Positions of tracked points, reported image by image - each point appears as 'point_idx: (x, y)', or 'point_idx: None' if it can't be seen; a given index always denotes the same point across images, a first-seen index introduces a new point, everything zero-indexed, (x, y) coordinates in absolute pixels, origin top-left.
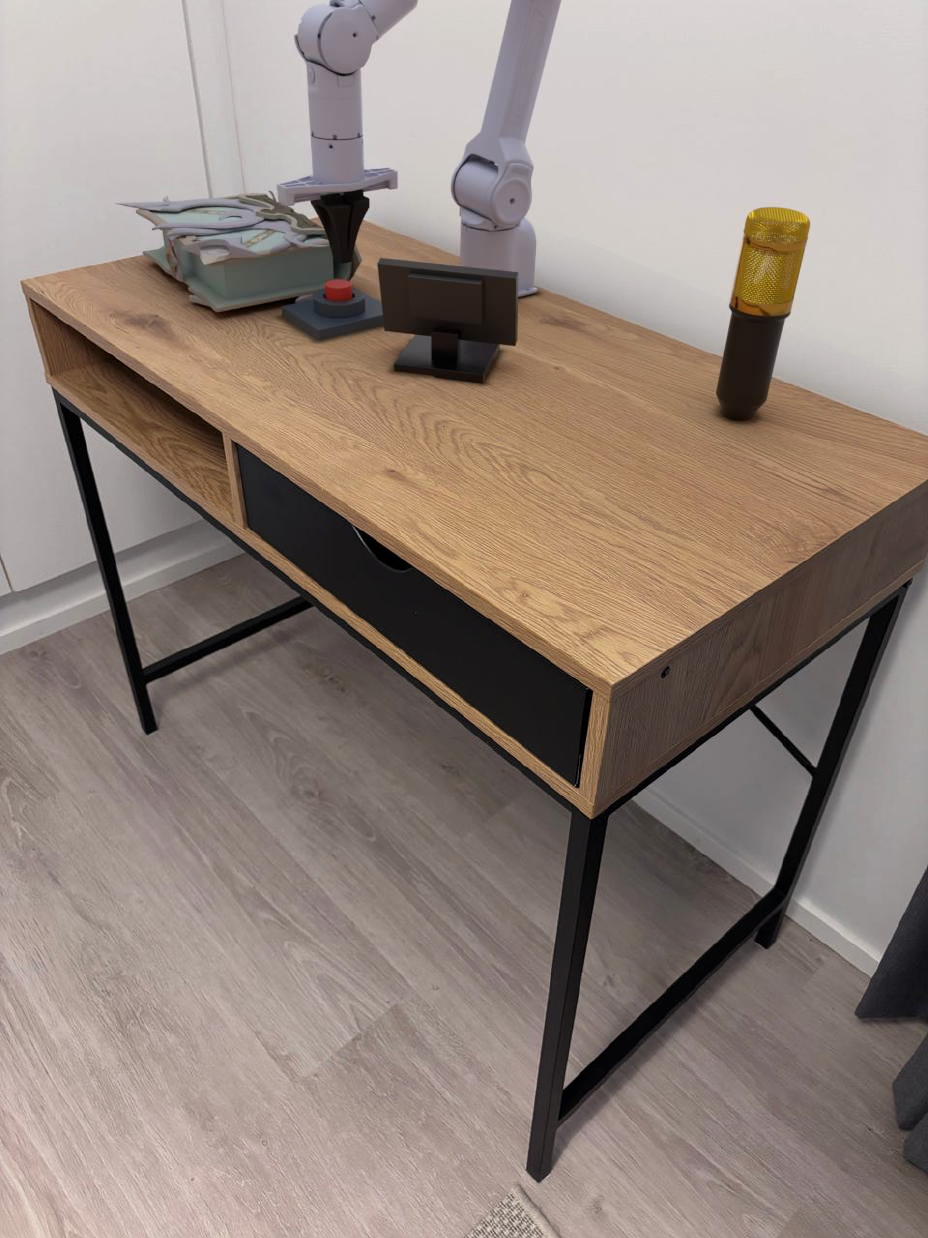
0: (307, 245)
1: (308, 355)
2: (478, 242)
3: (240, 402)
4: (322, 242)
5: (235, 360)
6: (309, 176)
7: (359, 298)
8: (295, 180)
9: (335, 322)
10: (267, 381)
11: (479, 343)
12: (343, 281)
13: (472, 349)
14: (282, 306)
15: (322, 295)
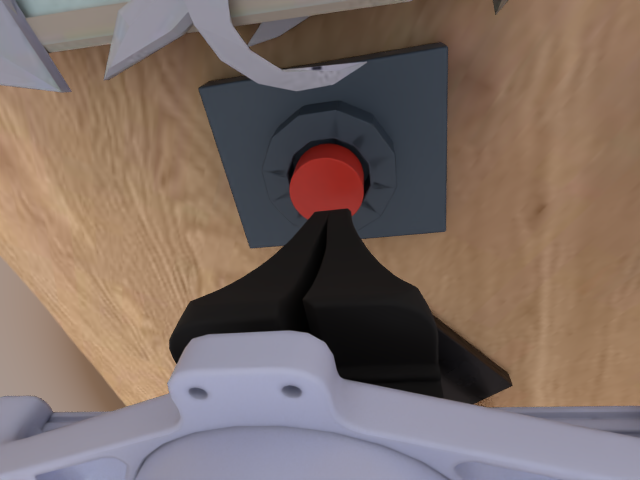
0: (257, 77)
1: (223, 273)
2: None
3: (111, 348)
4: (350, 3)
5: (101, 243)
6: (116, 453)
7: (367, 216)
8: (24, 478)
9: (292, 231)
10: (148, 318)
11: (484, 375)
12: (346, 183)
13: (458, 383)
14: (200, 90)
15: (289, 161)
